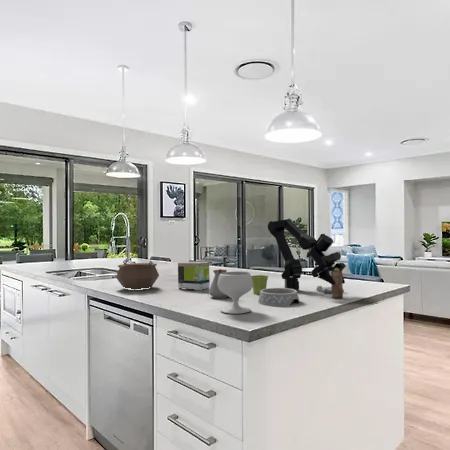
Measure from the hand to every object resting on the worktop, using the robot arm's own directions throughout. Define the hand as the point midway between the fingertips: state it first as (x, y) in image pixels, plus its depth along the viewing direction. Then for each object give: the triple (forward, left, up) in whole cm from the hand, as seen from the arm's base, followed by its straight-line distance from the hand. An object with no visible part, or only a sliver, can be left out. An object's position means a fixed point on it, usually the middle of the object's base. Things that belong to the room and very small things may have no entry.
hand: (339, 283), depth 172 cm
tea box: (-63, +48, -7) cm, 79 cm away
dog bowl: (-29, -1, -7) cm, 30 cm away
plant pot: (-32, +23, -7) cm, 40 cm away
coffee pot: (-53, +13, -7) cm, 55 cm away
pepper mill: (-1, +1, -7) cm, 7 cm away
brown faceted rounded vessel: (-94, +57, -7) cm, 110 cm away
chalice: (-51, -15, -7) cm, 53 cm away
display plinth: (+3, +18, -7) cm, 20 cm away
